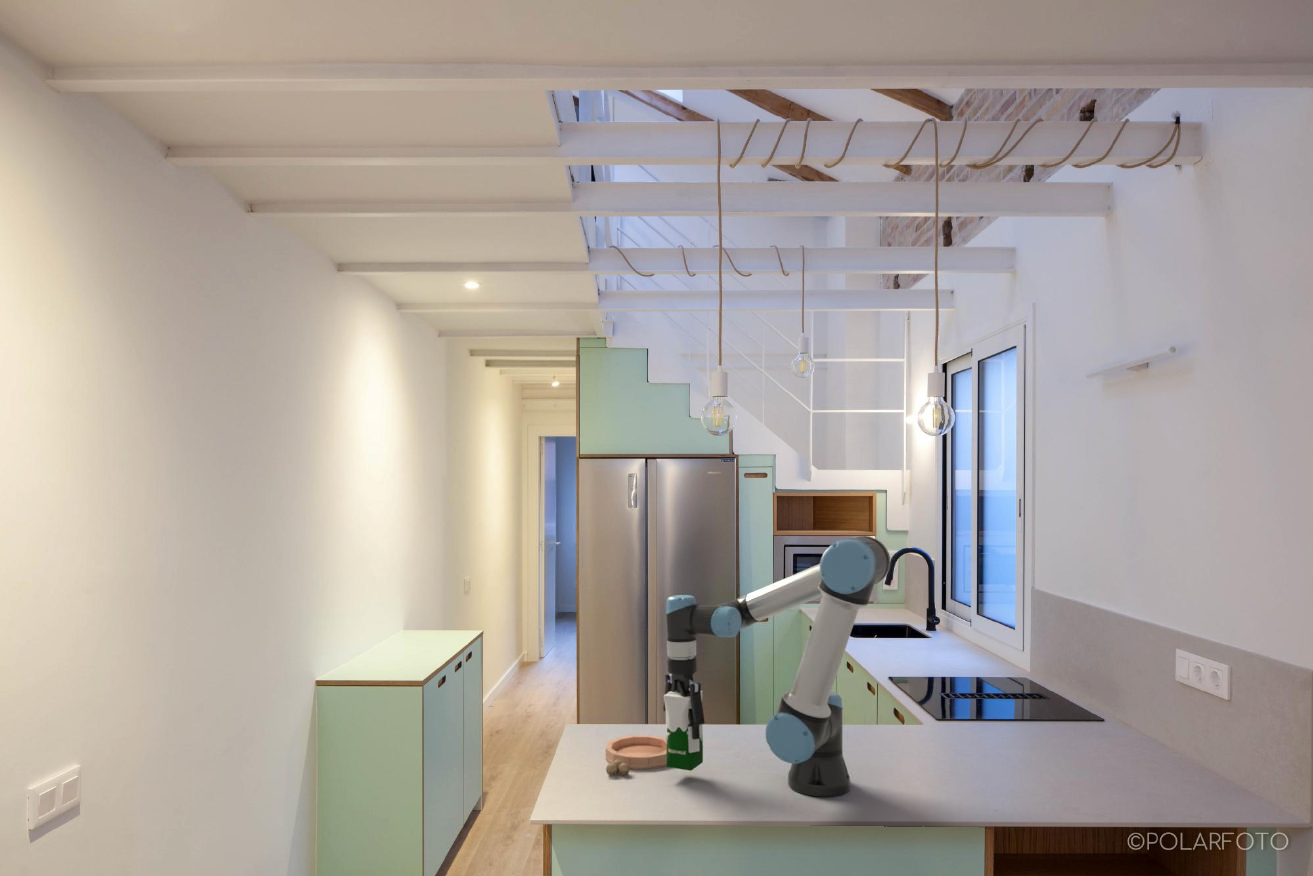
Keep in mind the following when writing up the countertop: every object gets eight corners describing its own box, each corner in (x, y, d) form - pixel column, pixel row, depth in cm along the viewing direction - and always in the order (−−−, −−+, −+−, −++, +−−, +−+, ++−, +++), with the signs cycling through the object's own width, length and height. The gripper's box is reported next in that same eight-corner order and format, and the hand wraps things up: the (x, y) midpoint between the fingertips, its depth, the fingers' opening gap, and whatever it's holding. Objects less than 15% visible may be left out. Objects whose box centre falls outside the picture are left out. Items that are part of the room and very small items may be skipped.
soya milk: (707, 761, 212) (705, 682, 213) (692, 773, 204) (690, 690, 205) (677, 757, 216) (675, 679, 217) (661, 768, 208) (659, 687, 209)
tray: (687, 761, 222) (687, 750, 222) (624, 774, 213) (624, 762, 213) (653, 742, 238) (653, 731, 239) (594, 752, 229) (594, 741, 229)
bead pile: (631, 775, 211) (631, 764, 211) (611, 779, 209) (611, 767, 209) (621, 768, 217) (621, 757, 217) (601, 772, 214) (601, 760, 214)
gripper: (717, 662, 204) (720, 755, 202) (673, 648, 223) (675, 733, 221) (691, 666, 200) (693, 761, 199) (648, 651, 219) (650, 738, 218)
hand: (684, 746), depth 210 cm, fingers closed on soya milk, 9 cm apart
